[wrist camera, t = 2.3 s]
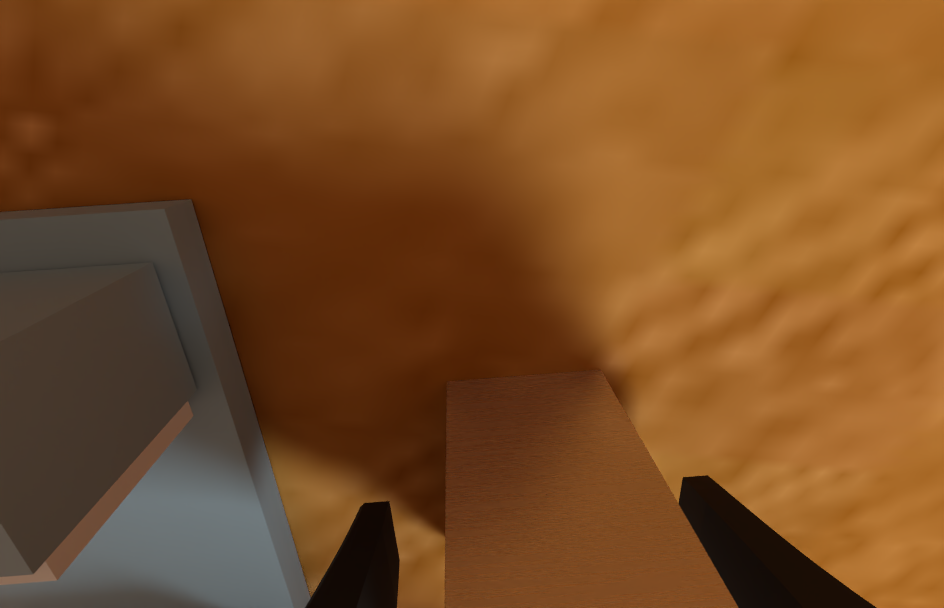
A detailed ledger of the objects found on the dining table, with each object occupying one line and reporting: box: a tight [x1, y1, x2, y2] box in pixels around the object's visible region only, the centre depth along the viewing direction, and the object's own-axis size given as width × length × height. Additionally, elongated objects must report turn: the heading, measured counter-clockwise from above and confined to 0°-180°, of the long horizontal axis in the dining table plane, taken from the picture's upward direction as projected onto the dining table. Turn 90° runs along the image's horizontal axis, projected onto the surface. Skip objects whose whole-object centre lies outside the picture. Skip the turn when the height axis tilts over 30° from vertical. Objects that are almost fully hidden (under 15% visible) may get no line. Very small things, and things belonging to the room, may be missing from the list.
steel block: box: [445, 370, 738, 608], centre depth 10 cm, size 6×4×6 cm, turn 3°
